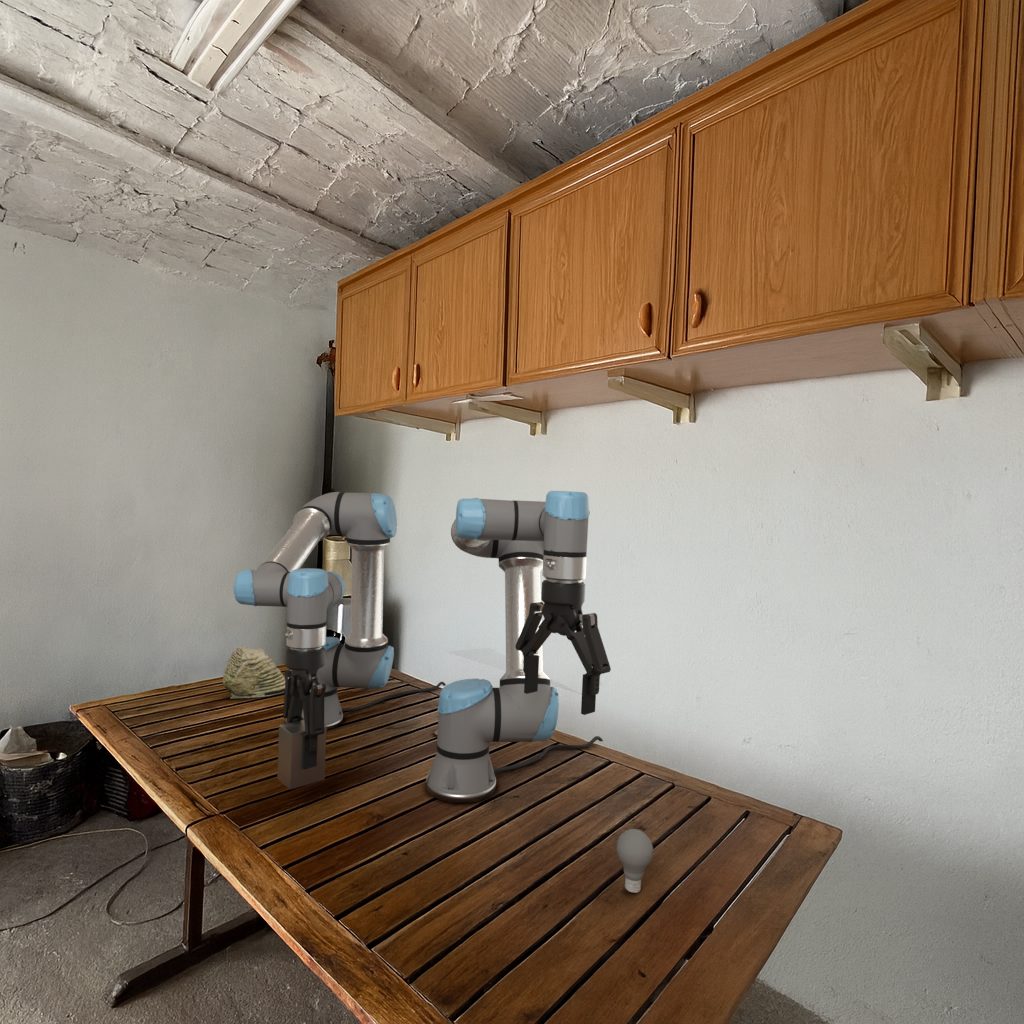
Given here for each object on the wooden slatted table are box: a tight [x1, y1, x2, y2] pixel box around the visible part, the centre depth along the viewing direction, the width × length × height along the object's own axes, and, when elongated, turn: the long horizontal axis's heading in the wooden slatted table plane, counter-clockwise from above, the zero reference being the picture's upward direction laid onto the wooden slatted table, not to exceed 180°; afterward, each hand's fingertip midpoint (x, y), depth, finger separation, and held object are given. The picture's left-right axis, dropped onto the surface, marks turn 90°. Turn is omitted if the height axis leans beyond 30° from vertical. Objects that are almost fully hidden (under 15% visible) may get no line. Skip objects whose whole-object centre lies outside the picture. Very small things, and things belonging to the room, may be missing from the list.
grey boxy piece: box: [276, 720, 327, 790], centre depth 127 cm, size 6×7×11 cm
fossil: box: [222, 646, 285, 699], centre depth 198 cm, size 9×18×15 cm, turn 132°
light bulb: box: [615, 828, 654, 894], centre depth 106 cm, size 6×6×10 cm
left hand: (301, 761), depth 127 cm, fingers closed on grey boxy piece, 6 cm apart
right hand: (558, 702), depth 110 cm, fingers open, 13 cm apart
